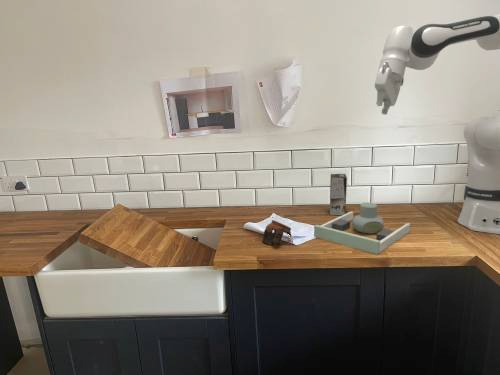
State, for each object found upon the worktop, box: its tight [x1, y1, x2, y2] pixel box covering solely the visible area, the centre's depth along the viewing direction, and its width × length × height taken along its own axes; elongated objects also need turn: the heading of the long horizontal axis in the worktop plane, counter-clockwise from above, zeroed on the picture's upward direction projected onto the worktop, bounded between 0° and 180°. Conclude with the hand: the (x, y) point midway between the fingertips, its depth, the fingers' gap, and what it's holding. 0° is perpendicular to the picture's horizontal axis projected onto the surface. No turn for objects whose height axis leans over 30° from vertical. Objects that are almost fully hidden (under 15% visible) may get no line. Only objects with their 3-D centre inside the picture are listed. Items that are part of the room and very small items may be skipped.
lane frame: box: [313, 211, 411, 255], centre depth 122 cm, size 23×26×4 cm
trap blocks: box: [332, 219, 395, 241], centre depth 122 cm, size 21×6×2 cm, turn 46°
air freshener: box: [351, 202, 385, 235], centre depth 124 cm, size 11×8×10 cm
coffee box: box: [329, 173, 348, 216], centre depth 146 cm, size 9×6×16 cm
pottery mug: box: [261, 219, 292, 247], centre depth 117 cm, size 12×10×8 cm
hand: (381, 109), depth 123 cm, fingers open, 8 cm apart
